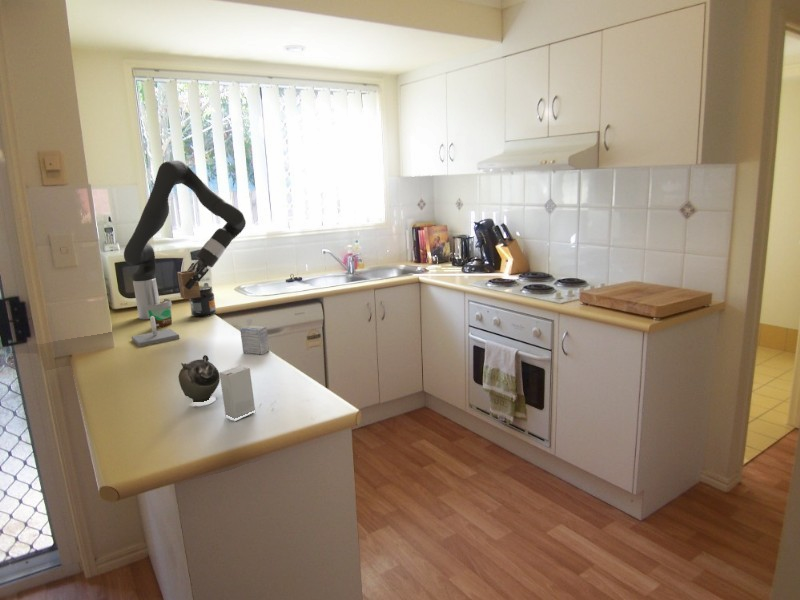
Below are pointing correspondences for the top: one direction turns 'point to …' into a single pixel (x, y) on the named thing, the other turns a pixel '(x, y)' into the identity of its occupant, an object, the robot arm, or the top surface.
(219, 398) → the top surface
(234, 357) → the top surface
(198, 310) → the supplement container
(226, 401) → the skincare box
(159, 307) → the food container
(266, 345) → the medicine box
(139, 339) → the post base
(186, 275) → the walnut sleeve
